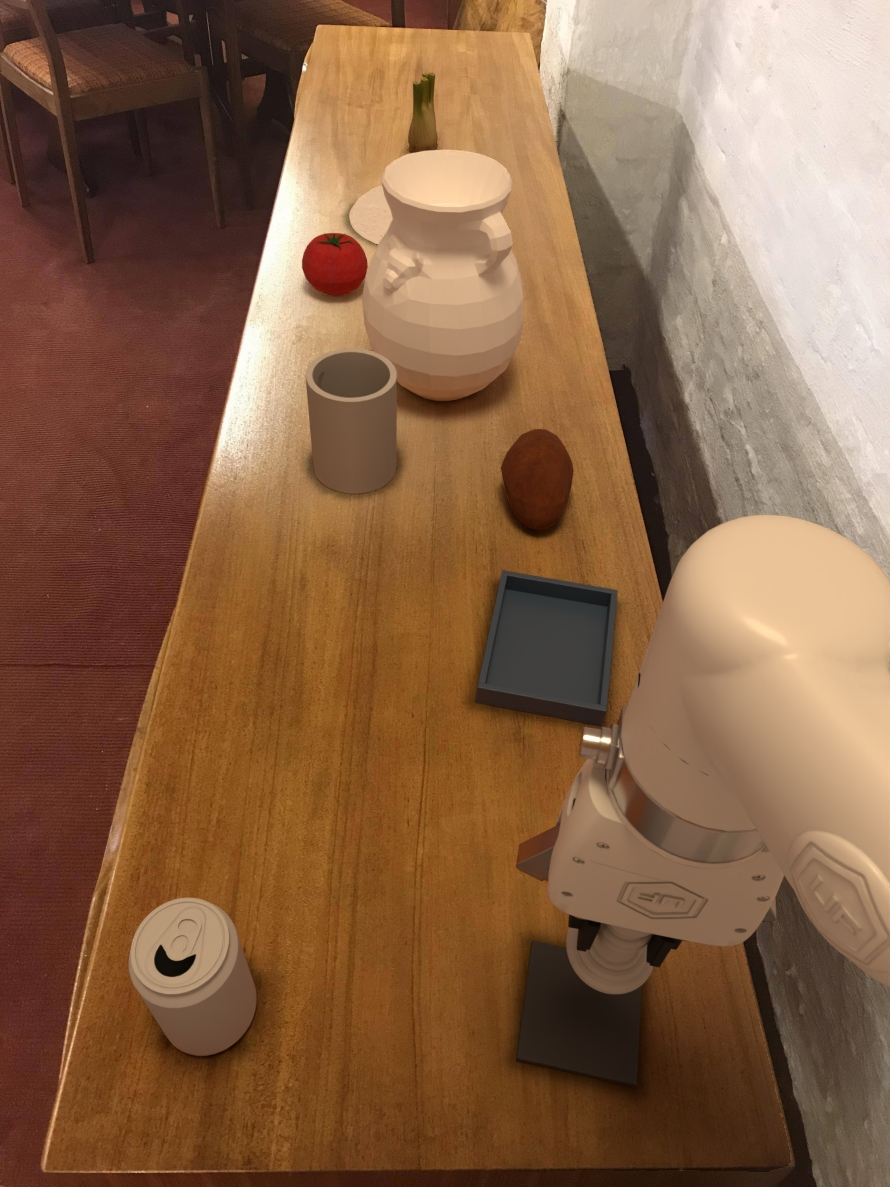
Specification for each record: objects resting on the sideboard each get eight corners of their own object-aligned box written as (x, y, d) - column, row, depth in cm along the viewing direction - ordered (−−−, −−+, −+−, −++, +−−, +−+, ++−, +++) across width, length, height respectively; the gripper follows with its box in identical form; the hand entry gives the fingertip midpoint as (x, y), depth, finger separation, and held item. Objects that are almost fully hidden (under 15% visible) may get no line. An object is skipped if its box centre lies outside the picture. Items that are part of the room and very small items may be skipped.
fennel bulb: (414, 160, 152) (416, 82, 143) (400, 148, 154) (400, 72, 145) (444, 153, 154) (447, 77, 145) (429, 142, 156) (431, 67, 148)
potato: (499, 537, 93) (506, 479, 87) (496, 464, 101) (502, 406, 95) (572, 540, 93) (584, 482, 87) (564, 467, 101) (575, 409, 95)
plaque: (424, 175, 147) (424, 166, 146) (507, 225, 138) (507, 216, 136) (323, 215, 139) (322, 205, 138) (404, 271, 129) (404, 262, 128)
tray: (602, 726, 78) (606, 711, 76) (475, 702, 79) (477, 687, 78) (613, 605, 87) (618, 589, 86) (500, 585, 89) (502, 569, 87)
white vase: (334, 372, 111) (321, 166, 92) (445, 321, 119) (455, 123, 101) (433, 448, 102) (442, 237, 83) (546, 388, 110) (577, 184, 92)
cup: (395, 494, 97) (395, 403, 88) (310, 492, 96) (301, 400, 87) (397, 440, 103) (397, 349, 94) (317, 438, 102) (310, 347, 93)
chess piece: (649, 910, 56) (681, 850, 49) (657, 1000, 53) (692, 949, 46) (564, 903, 56) (584, 843, 49) (565, 993, 53) (587, 941, 46)
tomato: (381, 286, 125) (380, 230, 119) (342, 313, 119) (339, 257, 113) (330, 266, 127) (327, 211, 121) (290, 292, 122) (285, 236, 116)
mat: (635, 1087, 59) (637, 1085, 59) (515, 1060, 60) (516, 1058, 60) (641, 966, 65) (643, 963, 64) (531, 943, 65) (532, 940, 65)
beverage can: (146, 1044, 60) (102, 984, 51) (187, 950, 64) (153, 879, 55) (236, 1070, 59) (208, 1014, 50) (271, 973, 63) (251, 905, 54)
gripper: (495, 810, 36) (466, 967, 50) (914, 894, 35) (766, 1033, 49) (520, 665, 41) (488, 845, 55) (889, 733, 40) (761, 900, 54)
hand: (619, 931), depth 52 cm, fingers closed on chess piece, 3 cm apart
